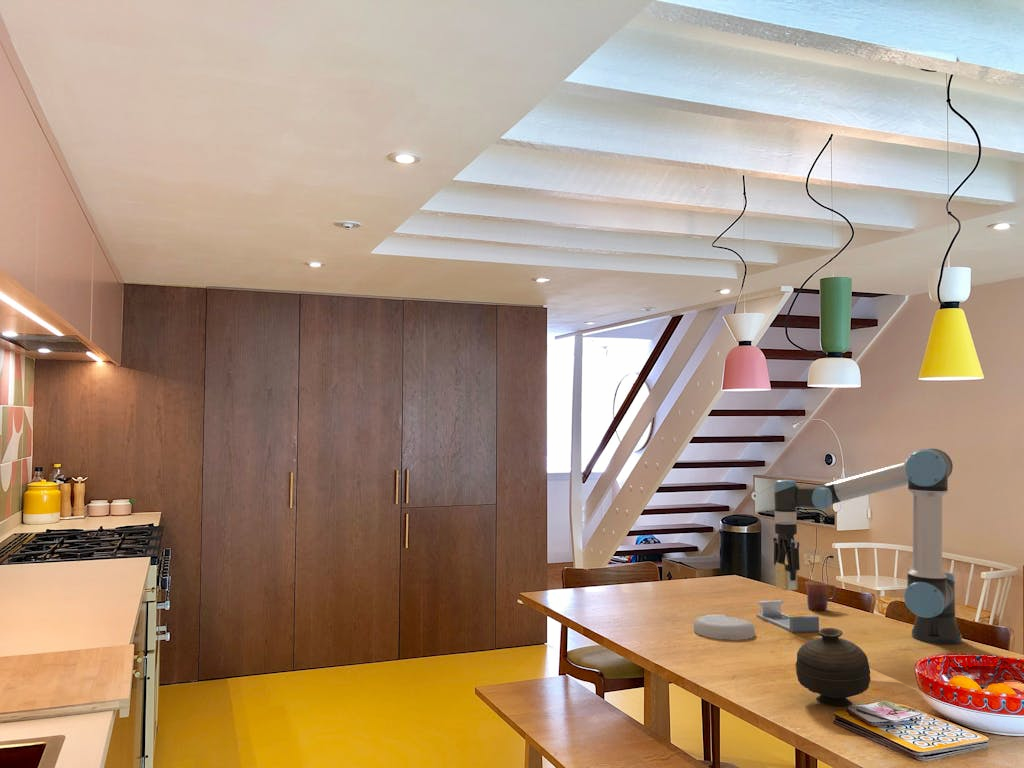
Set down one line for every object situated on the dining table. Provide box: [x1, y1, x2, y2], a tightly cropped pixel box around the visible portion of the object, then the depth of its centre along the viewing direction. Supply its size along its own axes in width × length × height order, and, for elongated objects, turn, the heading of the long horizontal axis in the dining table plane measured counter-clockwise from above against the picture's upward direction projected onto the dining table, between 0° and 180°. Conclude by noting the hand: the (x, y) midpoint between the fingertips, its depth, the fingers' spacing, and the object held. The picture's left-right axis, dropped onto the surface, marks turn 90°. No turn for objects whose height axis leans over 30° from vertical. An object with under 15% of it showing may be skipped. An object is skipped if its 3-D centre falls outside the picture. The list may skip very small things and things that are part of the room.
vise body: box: [756, 612, 820, 633], centre depth 299 cm, size 25×10×6 cm, turn 12°
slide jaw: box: [757, 599, 784, 616], centre depth 310 cm, size 2×9×5 cm, turn 102°
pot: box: [794, 627, 871, 708], centre depth 212 cm, size 18×18×20 cm
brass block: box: [775, 561, 799, 591], centre depth 299 cm, size 6×5×9 cm
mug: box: [804, 580, 838, 612], centre depth 327 cm, size 12×9×10 cm
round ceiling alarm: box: [693, 613, 756, 641], centre depth 285 cm, size 25×25×6 cm
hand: (786, 587), depth 299 cm, fingers closed on brass block, 6 cm apart
